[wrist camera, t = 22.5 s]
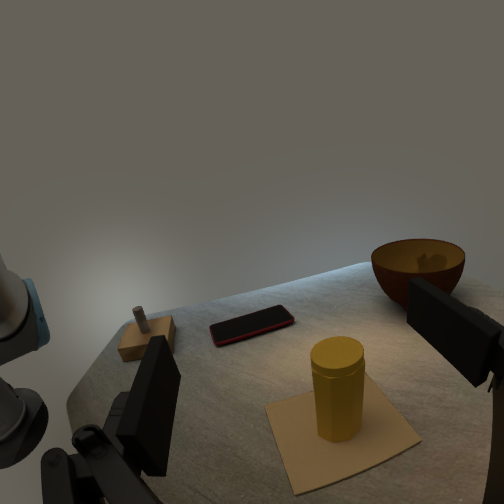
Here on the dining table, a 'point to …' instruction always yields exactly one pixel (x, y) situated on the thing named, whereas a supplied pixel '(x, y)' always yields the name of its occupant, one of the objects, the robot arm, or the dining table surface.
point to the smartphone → (250, 325)
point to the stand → (144, 334)
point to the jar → (338, 387)
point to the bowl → (417, 266)
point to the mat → (339, 453)
